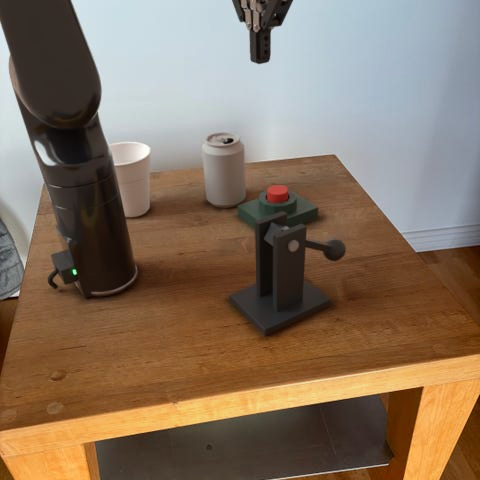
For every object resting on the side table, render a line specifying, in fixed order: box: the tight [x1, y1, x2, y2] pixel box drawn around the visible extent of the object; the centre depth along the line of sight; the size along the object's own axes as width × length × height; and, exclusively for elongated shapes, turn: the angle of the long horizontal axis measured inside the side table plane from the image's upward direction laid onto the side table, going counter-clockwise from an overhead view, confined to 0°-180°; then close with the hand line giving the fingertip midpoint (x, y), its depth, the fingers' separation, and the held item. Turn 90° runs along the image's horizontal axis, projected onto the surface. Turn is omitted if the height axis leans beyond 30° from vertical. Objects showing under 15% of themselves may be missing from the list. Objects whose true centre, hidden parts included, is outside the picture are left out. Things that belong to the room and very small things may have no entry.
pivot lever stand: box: [228, 211, 331, 337], centre depth 66 cm, size 11×9×13 cm
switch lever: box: [264, 222, 347, 262], centre depth 67 cm, size 14×3×3 cm, turn 122°
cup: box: [109, 141, 152, 218], centre depth 89 cm, size 10×10×11 cm
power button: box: [267, 184, 289, 203], centre depth 86 cm, size 4×4×2 cm
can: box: [201, 131, 247, 209], centre depth 91 cm, size 8×8×12 cm
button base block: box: [237, 188, 319, 230], centre depth 88 cm, size 11×9×4 cm
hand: (260, 62), depth 66 cm, fingers closed
